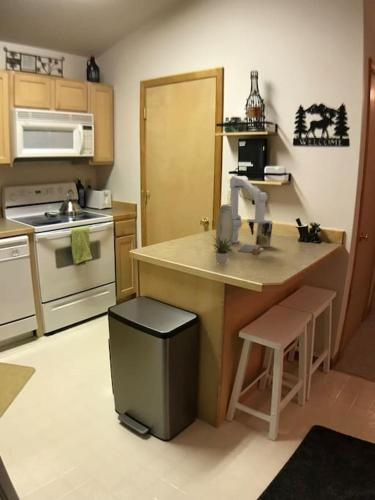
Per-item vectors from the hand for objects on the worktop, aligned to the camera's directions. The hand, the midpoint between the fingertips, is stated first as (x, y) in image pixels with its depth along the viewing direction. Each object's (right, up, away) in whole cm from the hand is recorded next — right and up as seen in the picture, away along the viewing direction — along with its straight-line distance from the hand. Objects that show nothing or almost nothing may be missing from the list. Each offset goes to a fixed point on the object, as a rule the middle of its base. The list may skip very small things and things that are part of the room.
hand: (258, 235), depth 244 cm
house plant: (-26, -16, -24) cm, 39 cm away
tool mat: (-5, -8, +9) cm, 13 cm away
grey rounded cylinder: (-21, -9, +5) cm, 23 cm away
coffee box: (+5, -6, +16) cm, 18 cm away
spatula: (0, -10, +2) cm, 10 cm away
